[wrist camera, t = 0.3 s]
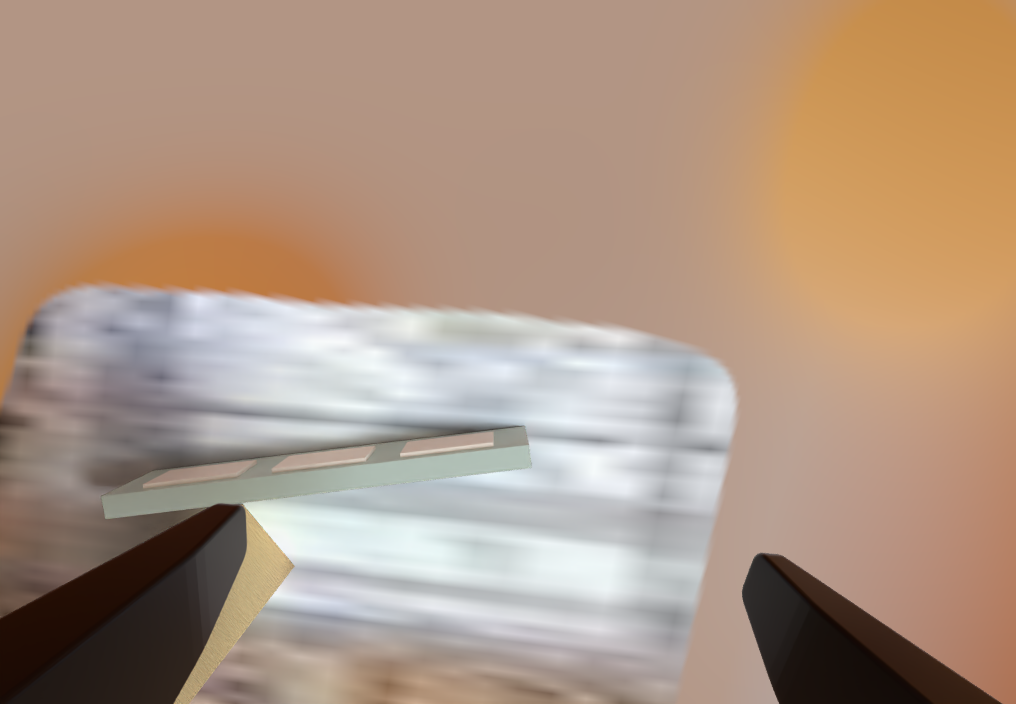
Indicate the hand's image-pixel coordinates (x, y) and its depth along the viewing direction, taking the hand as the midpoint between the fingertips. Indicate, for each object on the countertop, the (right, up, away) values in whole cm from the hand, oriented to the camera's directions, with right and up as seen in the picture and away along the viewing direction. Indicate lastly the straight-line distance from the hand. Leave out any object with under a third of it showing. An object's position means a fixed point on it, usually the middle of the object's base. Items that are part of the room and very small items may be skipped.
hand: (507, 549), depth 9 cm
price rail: (-8, -2, +15) cm, 17 cm away
